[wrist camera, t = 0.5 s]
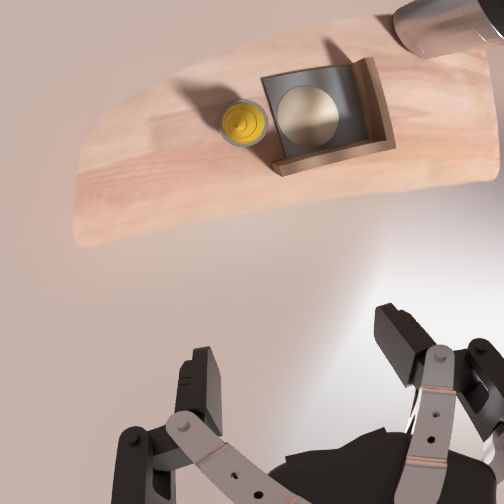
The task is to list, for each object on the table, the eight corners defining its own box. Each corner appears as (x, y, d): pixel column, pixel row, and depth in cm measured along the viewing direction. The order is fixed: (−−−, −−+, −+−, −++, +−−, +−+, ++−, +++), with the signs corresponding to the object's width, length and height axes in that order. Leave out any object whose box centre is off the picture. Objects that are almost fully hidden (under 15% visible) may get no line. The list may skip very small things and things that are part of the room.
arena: (355, 65, 30) (372, 57, 25) (376, 146, 34) (396, 148, 30) (246, 83, 30) (251, 74, 25) (273, 172, 35) (282, 176, 30)
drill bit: (277, 127, 32) (279, 134, 23) (241, 151, 34) (230, 168, 25) (251, 92, 30) (243, 86, 21) (215, 117, 32) (194, 121, 23)
